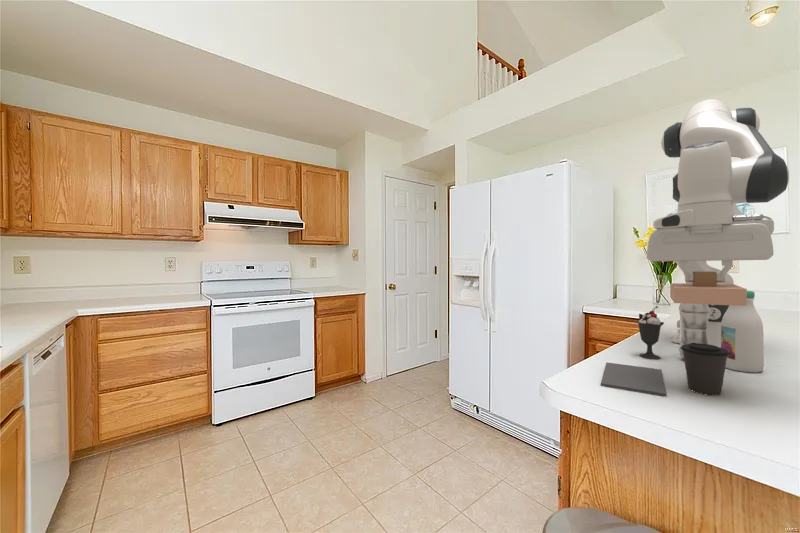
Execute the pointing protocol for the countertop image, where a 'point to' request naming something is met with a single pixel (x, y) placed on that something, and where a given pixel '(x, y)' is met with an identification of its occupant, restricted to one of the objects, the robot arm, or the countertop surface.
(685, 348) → the coffee cup
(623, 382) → the mat
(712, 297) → the cover
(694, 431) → the countertop surface
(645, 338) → the sundae
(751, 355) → the milk bottle
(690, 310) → the plastic bottle
